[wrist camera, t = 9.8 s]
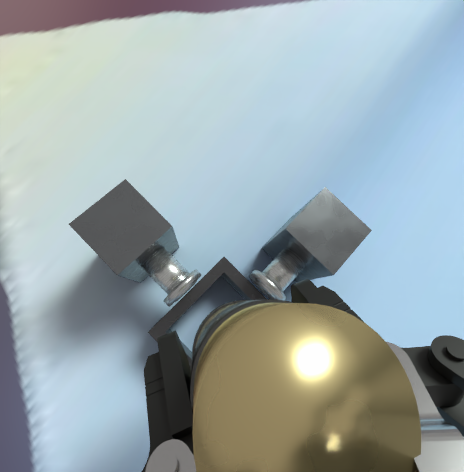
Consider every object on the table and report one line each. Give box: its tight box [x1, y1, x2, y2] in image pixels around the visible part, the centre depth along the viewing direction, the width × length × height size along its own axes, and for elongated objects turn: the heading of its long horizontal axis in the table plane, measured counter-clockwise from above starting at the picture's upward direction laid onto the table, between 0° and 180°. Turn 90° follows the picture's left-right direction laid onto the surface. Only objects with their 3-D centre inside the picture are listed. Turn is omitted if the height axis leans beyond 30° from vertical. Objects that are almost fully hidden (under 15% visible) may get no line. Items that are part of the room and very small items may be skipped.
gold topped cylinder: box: [190, 300, 421, 472], centre depth 11 cm, size 5×5×10 cm
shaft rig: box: [69, 179, 371, 369], centre depth 24 cm, size 18×18×8 cm
